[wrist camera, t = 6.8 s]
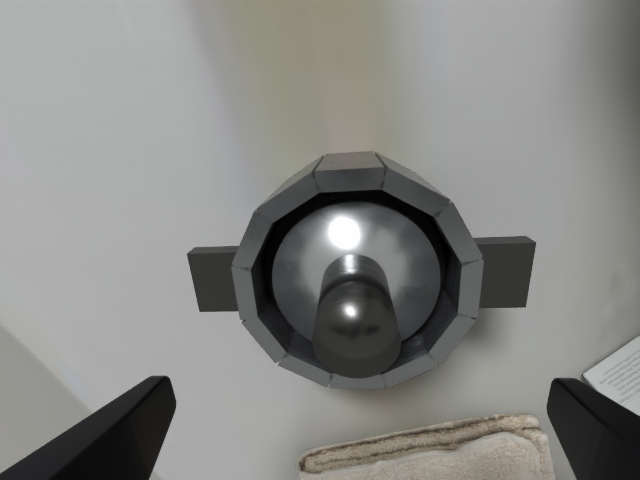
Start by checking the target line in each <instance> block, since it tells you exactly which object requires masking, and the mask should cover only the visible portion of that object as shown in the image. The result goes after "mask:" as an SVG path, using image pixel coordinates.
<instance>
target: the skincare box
mask: <svg viewBox="0 0 640 480" xmlns="http://www.w3.org/2000/svg"><path fill="white" fill-rule="evenodd" d="M583 376H584V378H585V379H586V380H587V381H588V382H589V383H590V384H591V386H592V387H593V388H594V389H595V390H596V391H598V392H600V393H601V394H603V395H605V396H607V397H608V398H610V399H612V400H613V401H615V402H617V403H618V404H620V405H622V406H624V407H625V408H627V409H629V410H630V411H632V412H634V413H635V414H637V415H639V416H640V335H639V336H637V337H636V338H635V339H633V340H632V341H630V342H629V343H627V344H626V345H624V346H623V347H621V348H620V349H619V350H617V351H616V352H614V353H613V354H611V355H610V356H608V357H607V358H605V359H604V360H603V361H601V362H600V363H598V364H597V365H595V366H594V367H592V368H591V369H589V370H588V371H586V372H585V373H584V374H583Z"/></svg>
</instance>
